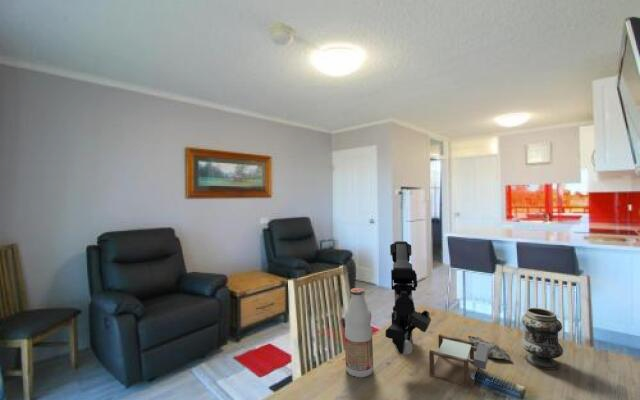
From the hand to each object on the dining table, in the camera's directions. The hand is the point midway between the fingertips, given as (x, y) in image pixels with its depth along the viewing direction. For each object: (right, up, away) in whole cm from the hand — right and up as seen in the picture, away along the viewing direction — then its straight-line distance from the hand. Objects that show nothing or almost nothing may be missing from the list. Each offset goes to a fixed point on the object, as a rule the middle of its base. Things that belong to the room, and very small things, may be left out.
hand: (404, 349), depth 105 cm
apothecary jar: (+50, -7, +5) cm, 51 cm away
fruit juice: (-15, -9, +3) cm, 17 cm away
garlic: (0, -2, 0) cm, 2 cm away
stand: (+18, -8, +2) cm, 19 cm away
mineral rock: (+35, -8, +12) cm, 38 cm away
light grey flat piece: (+20, -2, 0) cm, 20 cm away
